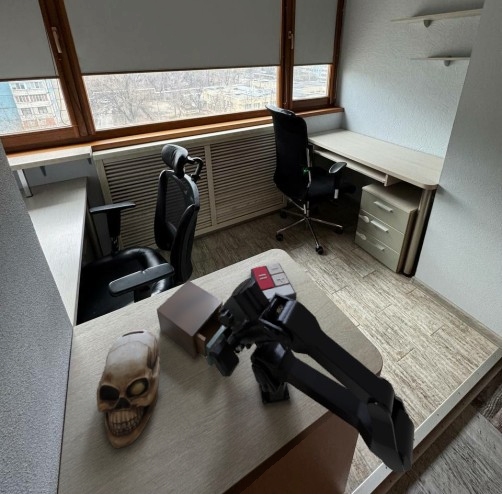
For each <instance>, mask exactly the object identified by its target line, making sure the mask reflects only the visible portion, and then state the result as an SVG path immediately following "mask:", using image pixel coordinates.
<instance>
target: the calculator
mask: <svg viewBox="0 0 502 494" xmlns="http://www.w3.org/2000/svg"><path fill="white" fill-rule="evenodd" d="M250 277H251V278H253V279H254V281H256V282H257V283H258V285H259V286H260V288H261V290H262V291H263V293H264V294H265V296H266V297H267V298H272V297H273V295H274V294H275V293H278V294H281V295H283V296H286V297H288V298H291V299H293V300H296V301H297V292H296V291H295V288H294V287H293V285H292V284H291V282H290V280H289V278H288V276H287V274H286V273H285V271H284V269H283V267H282V264H281V263H279V262H275V263H270V264H267V265H261V266H257V267H252V268H250ZM282 307H283V305H280V306H279V308H282Z"/></svg>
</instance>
